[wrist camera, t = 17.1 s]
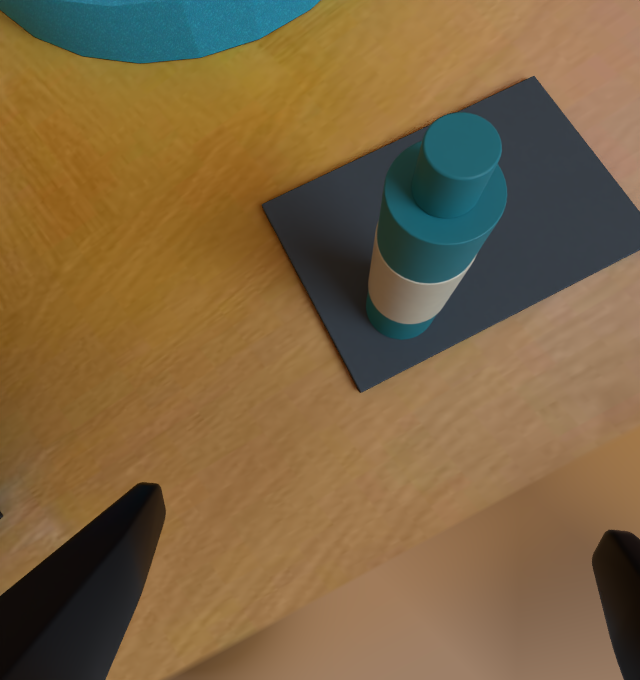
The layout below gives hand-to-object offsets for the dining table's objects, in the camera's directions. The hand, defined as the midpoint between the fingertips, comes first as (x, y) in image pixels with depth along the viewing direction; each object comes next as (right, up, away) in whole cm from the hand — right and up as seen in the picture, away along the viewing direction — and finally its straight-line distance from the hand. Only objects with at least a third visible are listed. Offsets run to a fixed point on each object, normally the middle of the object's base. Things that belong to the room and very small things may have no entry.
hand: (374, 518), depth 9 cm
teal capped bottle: (+3, +5, +15) cm, 16 cm away
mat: (+6, +10, +16) cm, 20 cm away
